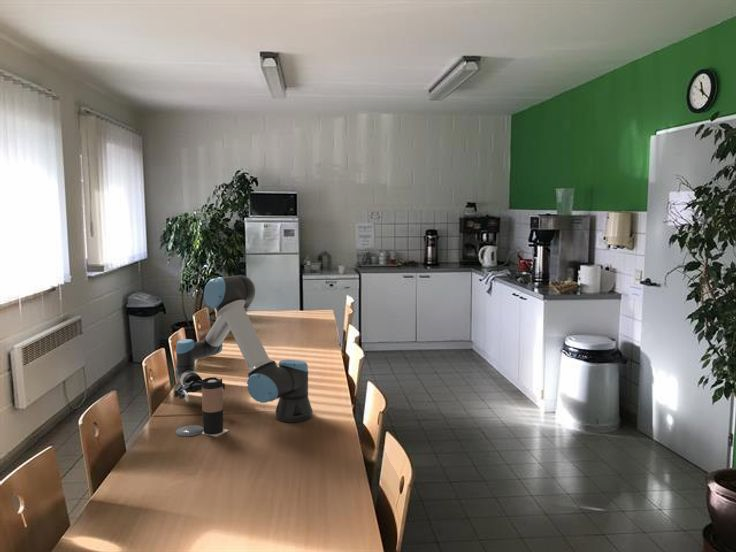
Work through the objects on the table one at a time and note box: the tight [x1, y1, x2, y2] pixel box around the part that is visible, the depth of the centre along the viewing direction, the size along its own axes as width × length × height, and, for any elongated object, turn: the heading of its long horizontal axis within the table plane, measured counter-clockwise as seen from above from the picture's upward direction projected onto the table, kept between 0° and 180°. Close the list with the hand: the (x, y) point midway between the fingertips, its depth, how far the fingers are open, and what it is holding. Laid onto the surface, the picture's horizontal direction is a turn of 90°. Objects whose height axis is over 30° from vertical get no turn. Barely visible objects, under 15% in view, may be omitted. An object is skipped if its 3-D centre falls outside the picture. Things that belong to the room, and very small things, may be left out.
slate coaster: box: [175, 424, 204, 438], centre depth 224 cm, size 10×10×1 cm
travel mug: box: [201, 376, 224, 436], centre depth 223 cm, size 8×8×20 cm
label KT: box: [201, 428, 230, 438], centre depth 224 cm, size 9×7×1 cm
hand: (205, 395), depth 231 cm, fingers open, 13 cm apart
